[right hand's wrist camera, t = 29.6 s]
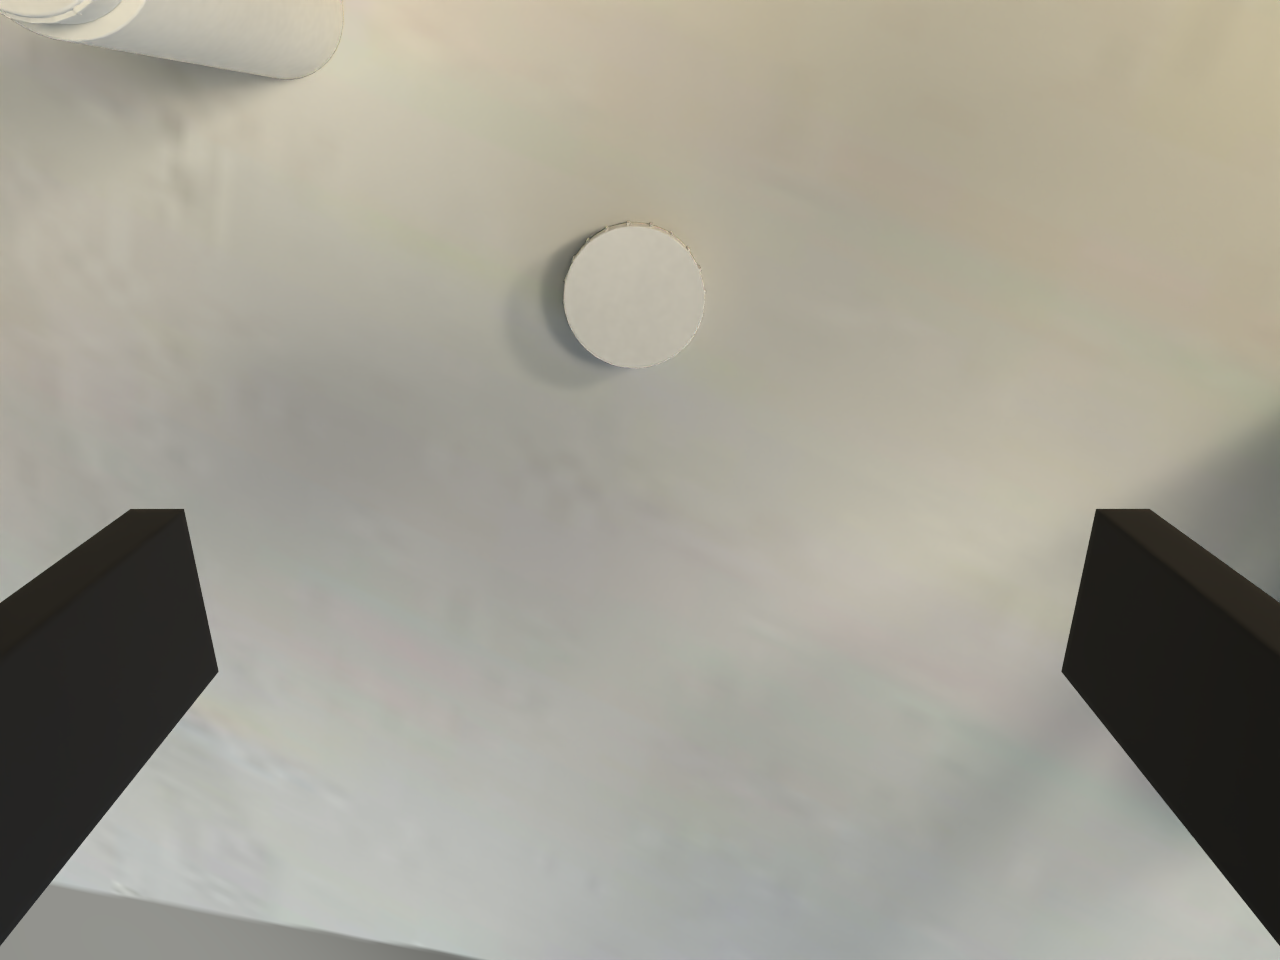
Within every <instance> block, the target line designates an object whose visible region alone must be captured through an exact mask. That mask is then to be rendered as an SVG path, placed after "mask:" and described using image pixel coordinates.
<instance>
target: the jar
mask: <svg viewBox="0 0 1280 960" xmlns="http://www.w3.org/2000/svg"><path fill="white" fill-rule="evenodd" d="M0 13H1V14H3V15H5V16H6V17H7V18H10V19H11V20H13V21H14V22H16V23H18V24H19V25H21V26H23V27H24V28H26V29H28V30H30V31H33V32H35V33H37V34H39V35H42V36H45V37H48V38H52V39H56V40H61V41H67V42H73V43H78V44H84V45H90V46H95V47H101V48H107V49H113V50H118V51H124V52H130V53H135V54H141V55H147V56H152V57H158V58H164V59H170V60H175V61H181V62H187V63H192V64H198V65H204V66H209V67H215V68H221V69H227V70H232V71H238V72H244V73H249V74H255V75H261V76H267V77H272V78H278V79H297V78H301V77H305V76H307V75H310V74H312V73H314V72H315V71H317V70H319V69H320V68H321V67H322V66H323V65H325V64H326V63H327V61H328V60H329V59H330V58H331V56H332V55H333V53H334V52H335V50H336V48H337V45H338V43H339V40H340V37H341V34H342V27H343V5H342V0H0Z"/></svg>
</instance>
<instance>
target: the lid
mask: <svg viewBox="0 0 1280 960" xmlns="http://www.w3.org/2000/svg"><path fill="white" fill-rule="evenodd" d="M690 251H691V250H690V248H689V247H688V246H687V247H686V246H685V245H684V244H683V243H682V242H681V241H680V240H679V239H678V238H676V237H675V236H674V235H673V232H672V231H670V233H669V232H668V231H666V230H664V229H662V228H659V227H657V226H654V225H652V223H650V224H645V223H630V221H627V223H623V224H618V225H615V226H612V227H608V226H606V227H605V229H604V230H603V231H601V232H599V233H597V234H596V235H595V236H593V237H592V238H591V239H590V238H588V239H587V240H586V244H585V245H584V246H583V247H582V248H581V249H580V251H579V252H578V253H577V255H574V256H573V258H572V261H573V262H572V264H571V266H570V268H569V271H568V273H567V276H566V277H565V279H564V282H565V285H564V300H563V305H564V309H565V314H566V317H567V321H568V325H569V326H570V328H571V330H572V332H573V333H574V335H575V337H576V338H577V340H578V341H579V342H580V344H581V345H582V346H583V347H584V348H585V349H586V350H587V351H588V352H590V353H591V354H592V355H594V356H595V357H597V358H598V359H600V360H602V361H604V362H606V363H609V364H611V365H614V366H618V367H623V368H646V367H650V366H654V365H657V364H660V363H663V362H665V361H667V360H668V359H670V358H672V357H673V356H675V355H676V354H678V353H679V352H680V351H681V350H682V349H683V348H684V347H685V346H686V345H687V344H688V343H689V342H690V340H691V339H692V337H693V336H694V335H695V333H696V331H697V329H698V327H699V324H700V322H701V319H702V316H703V315H704V312H703V311H704V305H705V293H706V290H705V288H704V284H703V279H702V276H701V273H700V271H702V270H701V268H700V266H699V265H698V266H697V263H696V262H695V260H694V258H693V256H692V254H691V253H690Z"/></svg>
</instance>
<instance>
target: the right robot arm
mask: <svg viewBox="0 0 1280 960" xmlns="http://www.w3.org/2000/svg"><path fill="white" fill-rule="evenodd" d="M217 673H218V667H217V662H216V658H215V653H214V648H213V643H212V639H211V634H210V629H209V625H208V620H207V615H206V611H205V606H204V601H203V597H202V592H201V587H200V583H199V578H198V573H197V568H196V564H195V559H194V554H193V550H192V545H191V540H190V536H189V531H188V526H187V522H186V517H185V512H184V509H130V510H129V511H127V512H126V513H124V514H123V515H122V516H120V517H119V518H118V519H116V520H115V521H113V522H112V523H111V524H109V525H108V526H106V527H105V528H104V529H102V530H101V531H99V532H98V533H97V534H95V535H94V536H93V537H91V538H90V539H88V540H87V541H86V542H84V543H83V544H81V545H80V546H79V547H77V548H76V549H74V550H73V551H72V552H70V553H69V554H68V555H66V556H65V557H63V558H62V559H61V560H59V561H58V562H56V563H55V564H54V565H52V566H51V567H50V568H48V569H47V570H45V571H44V572H43V573H41V574H40V575H38V576H37V577H36V578H34V579H33V580H31V581H30V582H29V583H27V584H26V585H25V586H23V587H22V588H20V589H19V590H18V591H16V592H15V593H13V594H12V595H11V596H9V597H8V598H6V599H5V600H4V601H2V602H1V603H0V945H1V944H2V943H3V942H4V940H5V939H6V938H7V937H8V935H9V934H10V933H11V932H12V930H13V929H14V928H15V927H16V925H17V924H18V923H19V922H20V920H21V919H22V918H23V916H24V915H25V914H26V913H27V911H28V910H29V909H30V908H31V906H32V905H33V904H34V903H35V901H36V900H37V899H38V898H39V896H40V895H41V894H42V893H43V891H44V890H45V889H46V888H47V886H48V885H49V884H50V883H51V881H52V880H53V879H54V878H55V876H56V875H57V874H58V873H59V871H60V870H61V869H62V868H63V866H64V865H65V864H66V863H67V861H68V860H69V859H70V857H71V856H72V855H73V854H74V852H75V851H76V850H77V849H78V847H79V846H80V845H81V844H82V842H83V841H84V840H85V839H86V837H87V836H88V835H89V834H90V832H91V831H92V830H93V829H94V827H95V826H96V825H97V824H98V822H99V821H100V820H101V819H102V817H103V816H104V815H105V814H106V812H107V811H108V810H109V809H110V807H111V806H112V805H113V803H114V802H115V801H116V800H117V798H118V797H119V796H120V795H121V793H122V792H123V791H124V790H125V788H126V787H127V786H128V785H129V783H130V782H131V781H132V780H133V778H134V777H135V776H136V775H137V773H138V772H139V771H140V770H141V768H142V767H143V766H144V765H145V763H146V762H147V761H148V760H149V758H150V757H151V756H152V754H153V753H154V752H155V751H156V749H157V748H158V747H159V746H160V744H161V743H162V742H163V741H164V739H165V738H166V737H167V736H168V734H169V733H170V732H171V731H172V729H173V728H174V727H175V726H176V724H177V723H178V722H179V721H180V719H181V718H182V717H183V716H184V714H185V713H186V712H187V711H188V709H189V708H190V707H191V705H192V704H193V703H194V702H195V700H196V699H197V698H198V697H199V695H200V694H201V693H202V692H203V690H204V689H205V688H206V687H207V685H208V684H209V683H210V682H211V680H212V679H213V678H214V677H215V675H216V674H217ZM1062 673H1063V674H1064V675H1065V677H1066V678H1067V679H1068V680H1069V682H1070V683H1071V684H1072V685H1073V687H1074V688H1075V689H1076V690H1077V692H1078V693H1079V694H1080V695H1081V697H1082V698H1083V699H1084V700H1085V702H1086V703H1087V704H1088V705H1089V707H1090V708H1091V709H1092V711H1093V712H1094V713H1095V714H1096V716H1097V717H1098V718H1099V719H1100V721H1101V722H1102V723H1103V724H1104V726H1105V727H1106V728H1107V729H1108V731H1109V732H1110V733H1111V734H1112V736H1113V737H1114V738H1115V739H1116V741H1117V742H1118V743H1119V744H1120V746H1121V747H1122V748H1123V749H1124V751H1125V752H1126V753H1127V754H1128V756H1129V757H1130V758H1131V760H1132V761H1133V762H1134V763H1135V765H1136V766H1137V767H1138V768H1139V770H1140V771H1141V772H1142V773H1143V775H1144V776H1145V777H1146V778H1147V780H1148V781H1149V782H1150V783H1151V785H1152V786H1153V787H1154V788H1155V790H1156V791H1157V792H1158V793H1159V795H1160V796H1161V797H1162V798H1163V800H1164V801H1165V802H1166V803H1167V805H1168V806H1169V807H1170V809H1171V810H1172V811H1173V812H1174V814H1175V815H1176V816H1177V817H1178V819H1179V820H1180V821H1181V822H1182V824H1183V825H1184V826H1185V827H1186V829H1187V830H1188V831H1189V832H1190V834H1191V835H1192V836H1193V837H1194V839H1195V840H1196V841H1197V842H1198V844H1199V845H1200V846H1201V847H1202V849H1203V850H1204V851H1205V852H1206V854H1207V855H1208V856H1209V857H1210V859H1211V860H1212V861H1213V863H1214V864H1215V865H1216V866H1217V868H1218V869H1219V870H1220V871H1221V873H1222V874H1223V875H1224V876H1225V878H1226V879H1227V880H1228V881H1229V883H1230V884H1231V885H1232V886H1233V888H1234V889H1235V890H1236V891H1237V893H1238V894H1239V895H1240V896H1241V898H1242V899H1243V900H1244V901H1245V903H1246V904H1247V905H1248V906H1249V908H1250V909H1251V910H1252V912H1253V913H1254V914H1255V915H1256V917H1257V918H1258V919H1259V920H1260V922H1261V923H1262V924H1263V925H1264V927H1265V928H1266V929H1267V930H1268V932H1269V933H1270V934H1271V935H1272V937H1273V938H1274V939H1275V940H1276V942H1277V943H1278V944H1279V945H1280V603H1279V602H1278V601H1276V600H1275V599H1274V598H1272V597H1271V596H1269V595H1268V594H1267V593H1265V592H1264V591H1262V590H1261V589H1260V588H1258V587H1257V586H1255V585H1254V584H1253V583H1251V582H1250V581H1249V580H1247V579H1246V578H1244V577H1243V576H1242V575H1240V574H1239V573H1237V572H1236V571H1235V570H1233V569H1232V568H1230V567H1229V566H1228V565H1226V564H1225V563H1224V562H1222V561H1221V560H1219V559H1218V558H1217V557H1215V556H1214V555H1212V554H1211V553H1210V552H1208V551H1207V550H1206V549H1204V548H1203V547H1201V546H1200V545H1199V544H1197V543H1196V542H1194V541H1193V540H1192V539H1190V538H1189V537H1187V536H1186V535H1185V534H1183V533H1182V532H1181V531H1179V530H1178V529H1176V528H1175V527H1174V526H1172V525H1171V524H1169V523H1168V522H1167V521H1165V520H1164V519H1162V518H1161V517H1160V516H1158V515H1157V514H1156V513H1154V512H1153V511H1151V510H1150V509H1096V512H1095V517H1094V522H1093V526H1092V531H1091V536H1090V540H1089V545H1088V550H1087V554H1086V559H1085V564H1084V568H1083V573H1082V578H1081V582H1080V587H1079V592H1078V597H1077V601H1076V606H1075V611H1074V615H1073V620H1072V625H1071V629H1070V634H1069V639H1068V643H1067V648H1066V653H1065V658H1064V662H1063V667H1062Z"/></svg>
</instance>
